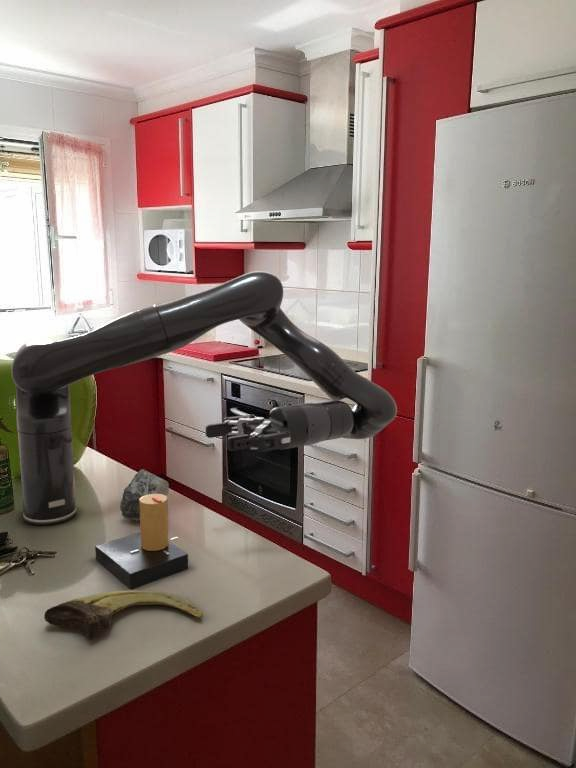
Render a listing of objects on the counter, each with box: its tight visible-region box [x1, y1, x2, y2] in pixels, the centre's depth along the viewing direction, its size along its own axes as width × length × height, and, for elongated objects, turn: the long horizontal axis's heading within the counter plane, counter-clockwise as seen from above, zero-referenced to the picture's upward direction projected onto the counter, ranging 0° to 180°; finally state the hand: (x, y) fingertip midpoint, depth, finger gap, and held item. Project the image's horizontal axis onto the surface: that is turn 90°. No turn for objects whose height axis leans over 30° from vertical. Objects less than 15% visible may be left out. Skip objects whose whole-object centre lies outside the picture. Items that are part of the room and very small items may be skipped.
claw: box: [43, 589, 204, 640], centre depth 87 cm, size 20×10×3 cm, turn 113°
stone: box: [119, 468, 170, 521], centre depth 119 cm, size 10×10×10 cm
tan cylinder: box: [139, 494, 170, 551], centre depth 102 cm, size 4×4×8 cm
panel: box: [94, 531, 189, 590], centre depth 102 cm, size 12×12×3 cm
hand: (216, 437), depth 105 cm, fingers open, 8 cm apart
